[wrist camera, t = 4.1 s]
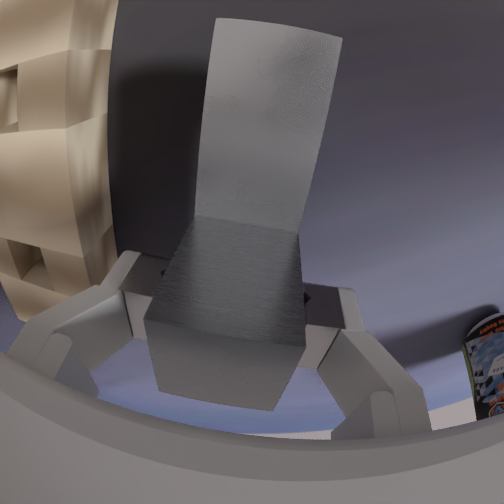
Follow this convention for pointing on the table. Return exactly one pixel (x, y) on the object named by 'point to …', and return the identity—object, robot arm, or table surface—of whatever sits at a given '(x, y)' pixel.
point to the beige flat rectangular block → (54, 150)
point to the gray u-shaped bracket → (245, 220)
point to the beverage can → (486, 365)
